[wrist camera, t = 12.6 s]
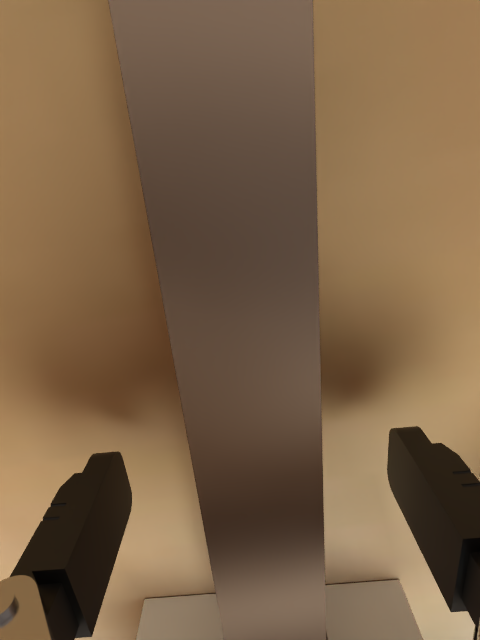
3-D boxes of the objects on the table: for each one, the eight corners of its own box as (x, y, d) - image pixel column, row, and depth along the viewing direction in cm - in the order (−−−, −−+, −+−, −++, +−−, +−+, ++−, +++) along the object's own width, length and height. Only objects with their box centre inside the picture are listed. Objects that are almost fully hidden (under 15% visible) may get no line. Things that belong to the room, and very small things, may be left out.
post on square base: (80, 21, 10) (-239, -287, 3) (352, -10, 10) (605, -409, 3) (206, 631, 19) (190, 873, 12) (346, 621, 19) (405, 860, 12)
